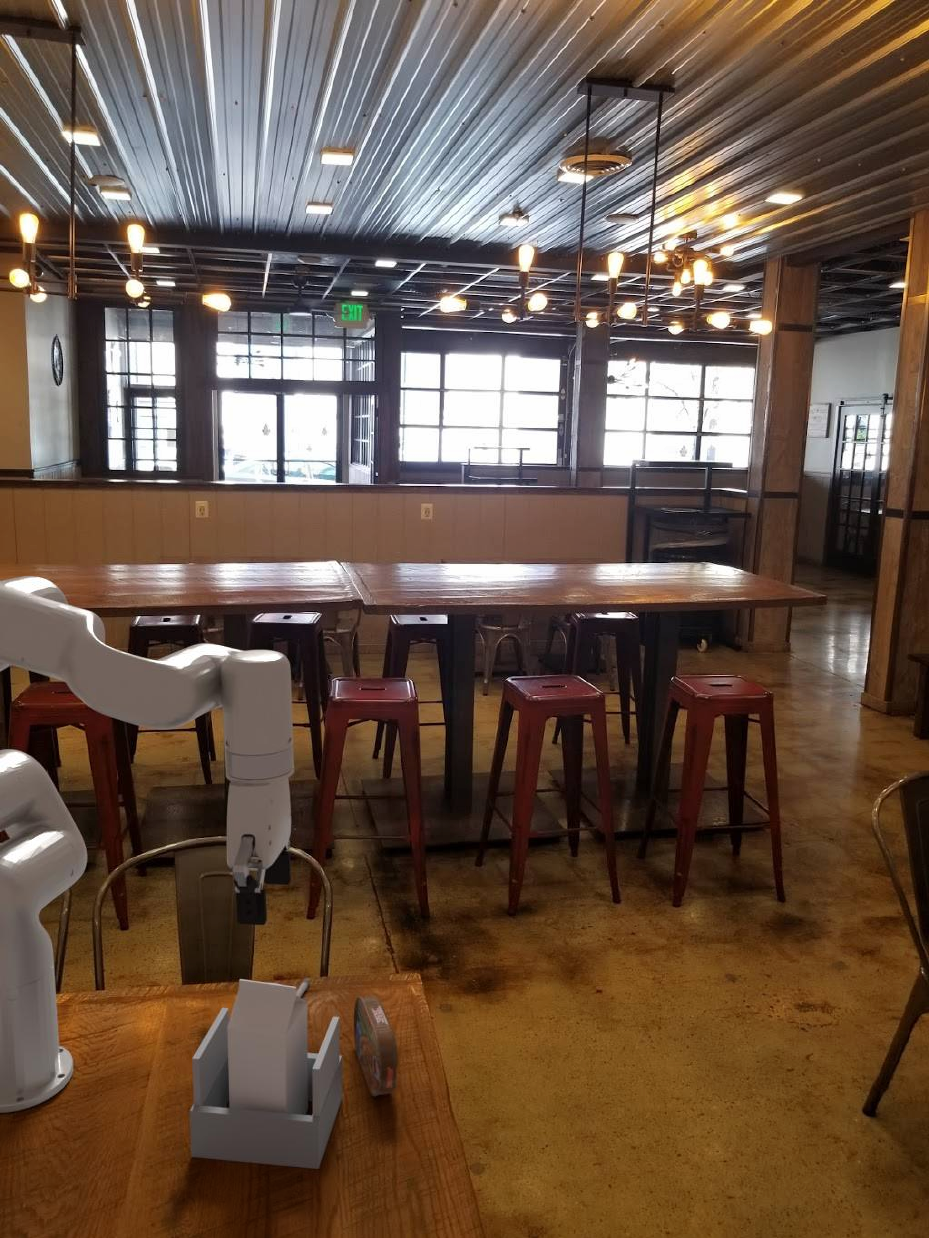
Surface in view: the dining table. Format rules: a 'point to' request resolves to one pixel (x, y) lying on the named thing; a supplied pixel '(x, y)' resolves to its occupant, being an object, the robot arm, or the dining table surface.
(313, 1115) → the flap box
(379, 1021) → the tin
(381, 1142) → the dining table surface
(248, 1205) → the dining table surface
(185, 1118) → the dining table surface
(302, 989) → the pen
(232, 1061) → the milk carton
